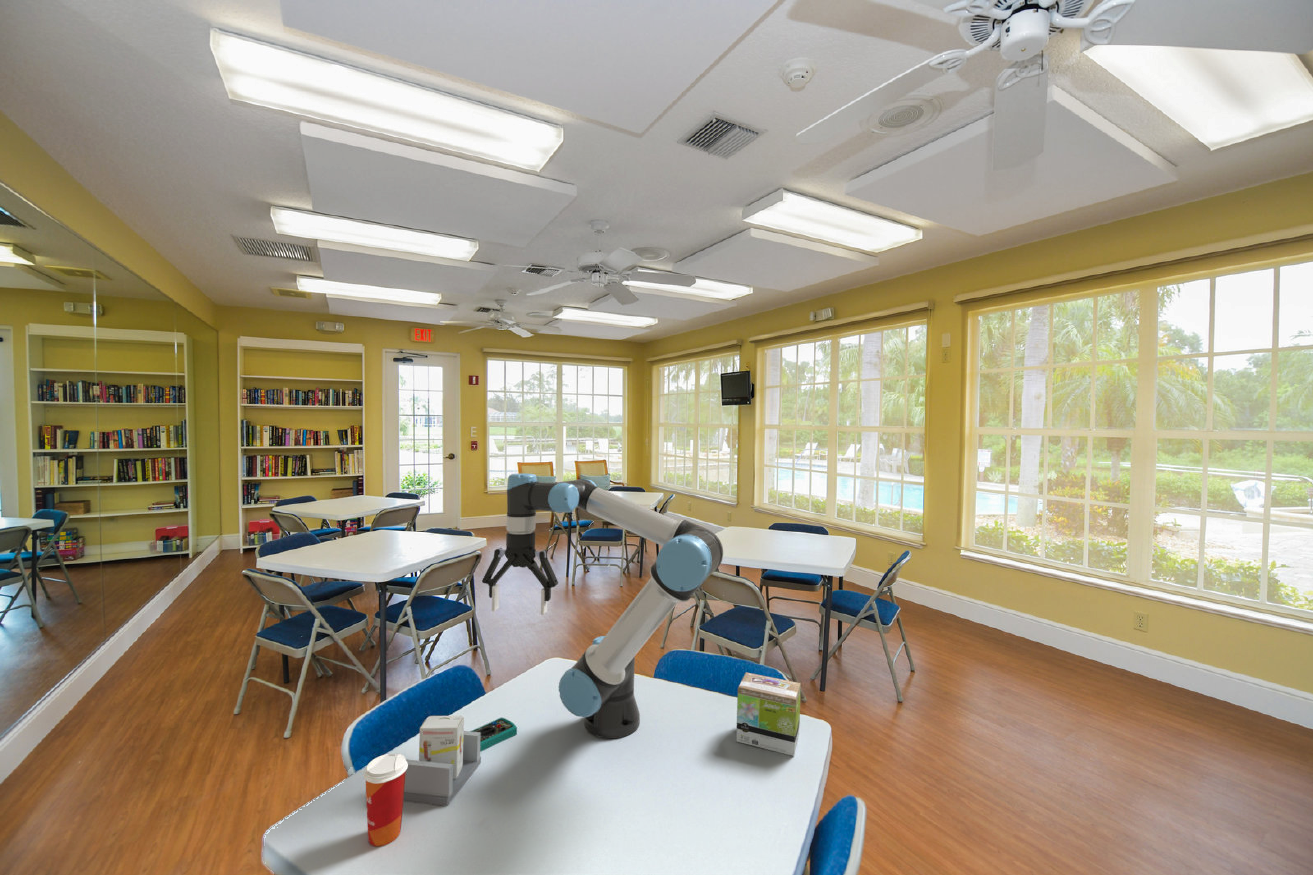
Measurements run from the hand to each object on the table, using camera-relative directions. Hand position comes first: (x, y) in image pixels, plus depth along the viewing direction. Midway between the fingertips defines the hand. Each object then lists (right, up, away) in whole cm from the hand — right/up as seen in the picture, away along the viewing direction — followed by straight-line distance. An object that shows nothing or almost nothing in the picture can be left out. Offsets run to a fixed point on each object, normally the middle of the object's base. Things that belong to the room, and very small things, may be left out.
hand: (519, 611), depth 139 cm
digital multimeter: (-7, -32, -5) cm, 33 cm away
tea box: (+66, -33, -2) cm, 74 cm away
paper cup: (-16, -31, -38) cm, 52 cm away
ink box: (-12, -30, -21) cm, 39 cm away
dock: (-13, -31, -21) cm, 40 cm away
